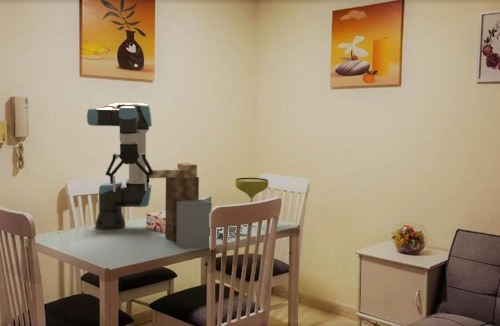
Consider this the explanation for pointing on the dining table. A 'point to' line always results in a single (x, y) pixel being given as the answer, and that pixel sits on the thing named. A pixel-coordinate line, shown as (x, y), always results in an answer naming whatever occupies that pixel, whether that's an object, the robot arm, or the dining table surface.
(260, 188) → the cocktail glass
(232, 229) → the l-shaped corner panel
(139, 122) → the robot arm
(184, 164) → the ash mallet
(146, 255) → the dining table surface
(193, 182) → the tall walnut stand
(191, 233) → the grey rectangular block
